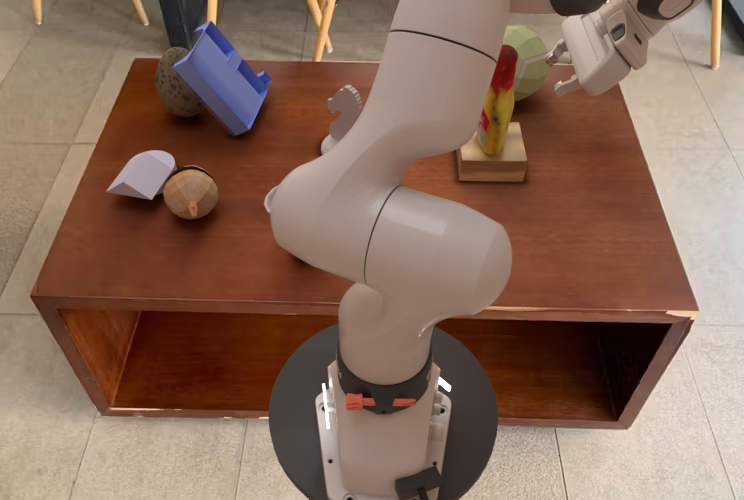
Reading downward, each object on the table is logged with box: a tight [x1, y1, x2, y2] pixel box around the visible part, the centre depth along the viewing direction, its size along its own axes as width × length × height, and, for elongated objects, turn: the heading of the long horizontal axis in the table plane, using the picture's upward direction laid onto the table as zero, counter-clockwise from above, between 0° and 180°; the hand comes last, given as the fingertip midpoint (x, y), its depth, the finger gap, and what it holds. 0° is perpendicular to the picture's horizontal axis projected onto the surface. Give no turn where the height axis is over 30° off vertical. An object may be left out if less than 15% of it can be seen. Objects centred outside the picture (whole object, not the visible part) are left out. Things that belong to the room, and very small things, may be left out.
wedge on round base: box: [105, 149, 178, 201], centre depth 124 cm, size 9×7×13 cm
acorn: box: [161, 164, 220, 220], centre depth 118 cm, size 9×9×15 cm
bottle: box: [476, 45, 518, 155], centre depth 121 cm, size 12×6×20 cm, turn 172°
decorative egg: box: [154, 46, 208, 118], centre depth 137 cm, size 11×11×15 cm
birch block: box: [456, 121, 528, 183], centre depth 130 cm, size 12×12×5 cm
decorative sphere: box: [502, 24, 549, 103], centre depth 141 cm, size 15×15×15 cm
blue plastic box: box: [171, 20, 273, 137], centre depth 136 cm, size 18×16×7 cm
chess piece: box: [320, 84, 364, 156], centre depth 129 cm, size 10×10×15 cm
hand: (551, 76), depth 117 cm, fingers open, 8 cm apart
